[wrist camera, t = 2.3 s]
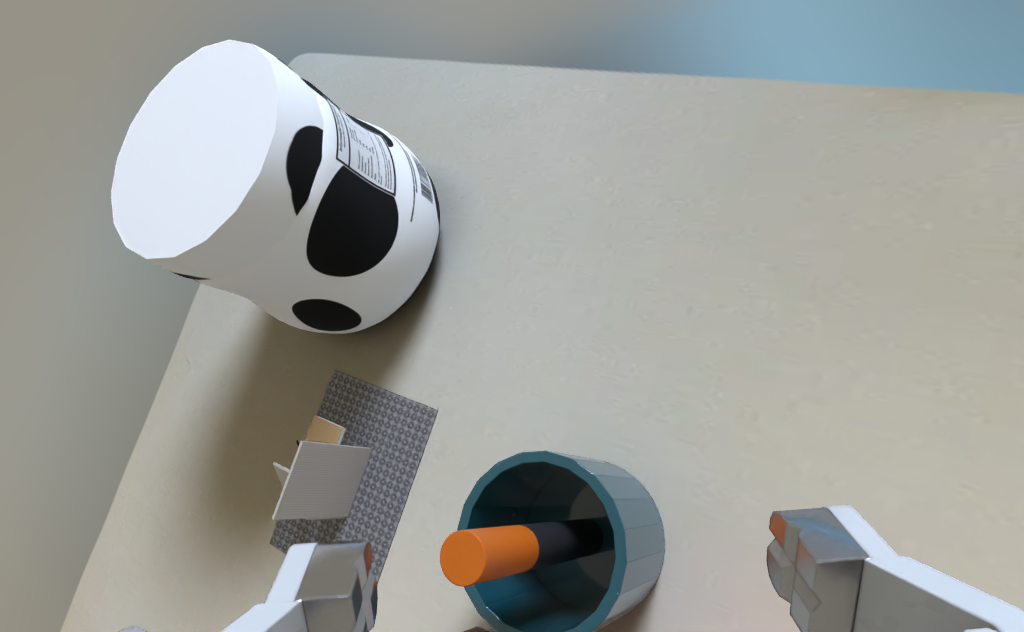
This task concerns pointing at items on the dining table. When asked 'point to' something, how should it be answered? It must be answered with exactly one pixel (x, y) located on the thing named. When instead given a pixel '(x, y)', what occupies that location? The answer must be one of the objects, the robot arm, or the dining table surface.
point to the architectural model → (352, 469)
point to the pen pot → (576, 583)
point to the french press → (132, 629)
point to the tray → (476, 630)
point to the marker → (515, 549)
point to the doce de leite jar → (274, 193)
